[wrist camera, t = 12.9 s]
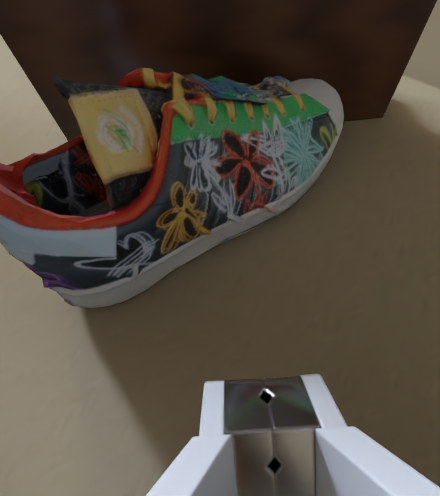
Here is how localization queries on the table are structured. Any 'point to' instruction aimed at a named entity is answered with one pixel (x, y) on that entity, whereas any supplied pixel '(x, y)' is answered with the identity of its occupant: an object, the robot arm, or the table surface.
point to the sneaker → (162, 176)
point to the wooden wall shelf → (217, 44)
